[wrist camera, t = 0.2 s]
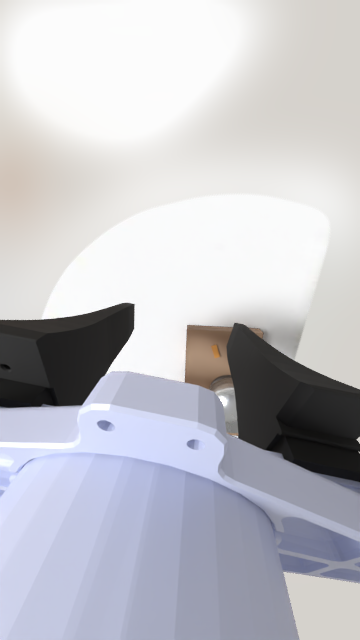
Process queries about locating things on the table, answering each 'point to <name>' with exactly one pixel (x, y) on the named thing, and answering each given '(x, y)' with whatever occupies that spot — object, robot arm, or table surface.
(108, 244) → the table surface
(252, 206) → the table surface
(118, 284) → the table surface
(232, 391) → the silver saucepan
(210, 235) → the table surface
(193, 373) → the mounting board
